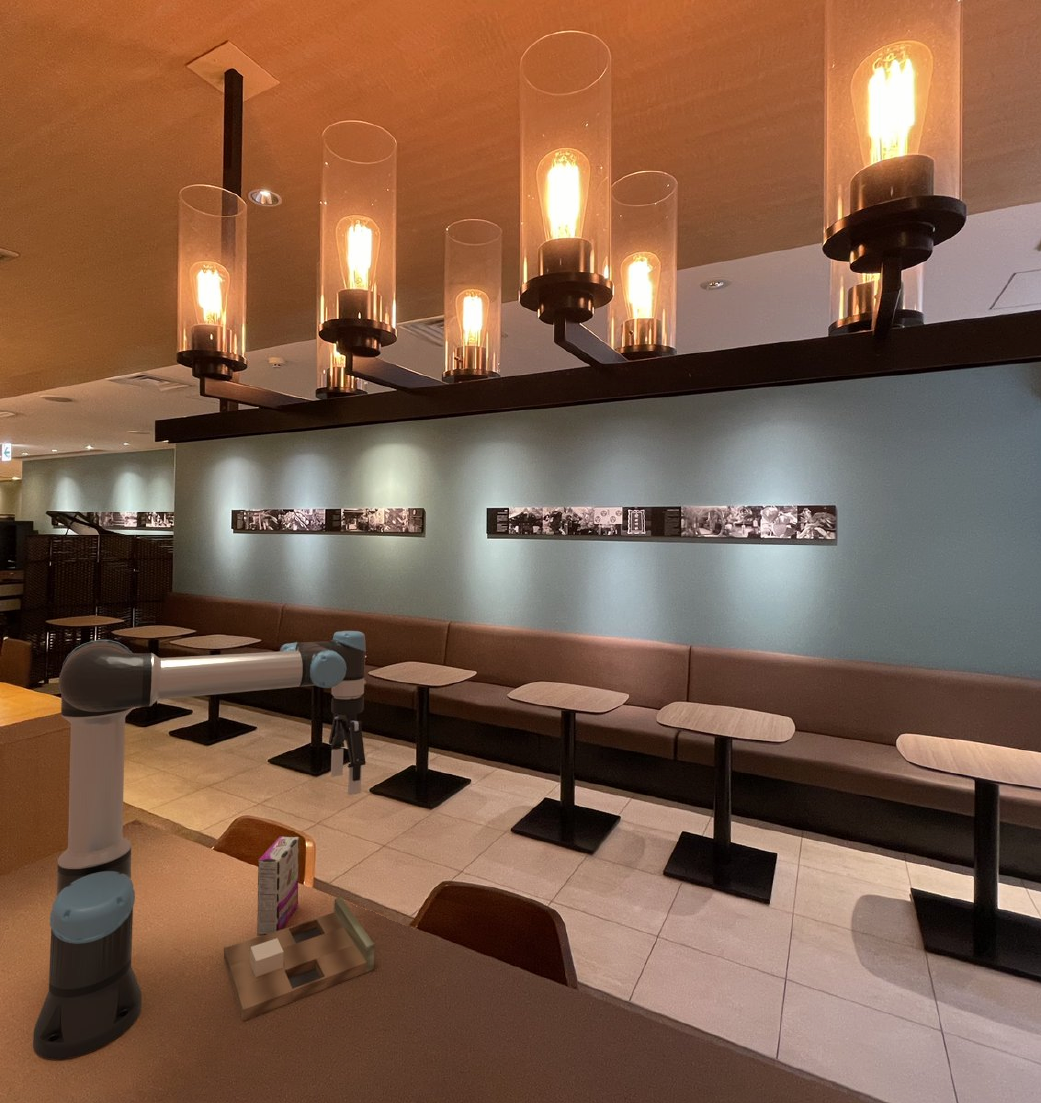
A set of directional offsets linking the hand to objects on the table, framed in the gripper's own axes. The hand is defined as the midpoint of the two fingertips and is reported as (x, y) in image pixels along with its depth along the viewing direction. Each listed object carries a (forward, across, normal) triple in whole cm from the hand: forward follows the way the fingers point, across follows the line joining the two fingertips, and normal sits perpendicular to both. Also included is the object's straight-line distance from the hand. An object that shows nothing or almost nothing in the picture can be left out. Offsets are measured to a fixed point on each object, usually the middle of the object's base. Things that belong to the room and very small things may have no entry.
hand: (345, 784), depth 142 cm
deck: (+28, -17, +14) cm, 36 cm away
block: (+26, -18, +20) cm, 37 cm away
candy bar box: (+28, 0, +14) cm, 31 cm away
